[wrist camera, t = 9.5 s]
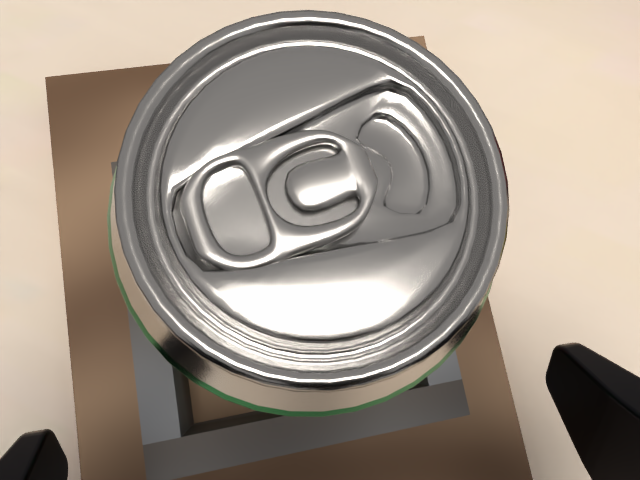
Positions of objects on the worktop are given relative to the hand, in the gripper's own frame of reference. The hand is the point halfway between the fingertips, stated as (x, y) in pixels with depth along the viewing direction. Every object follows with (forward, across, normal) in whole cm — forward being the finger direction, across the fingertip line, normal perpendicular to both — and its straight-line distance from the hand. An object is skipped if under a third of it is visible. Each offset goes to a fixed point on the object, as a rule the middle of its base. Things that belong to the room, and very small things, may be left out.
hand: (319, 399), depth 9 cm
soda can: (+8, 0, +4) cm, 8 cm away
